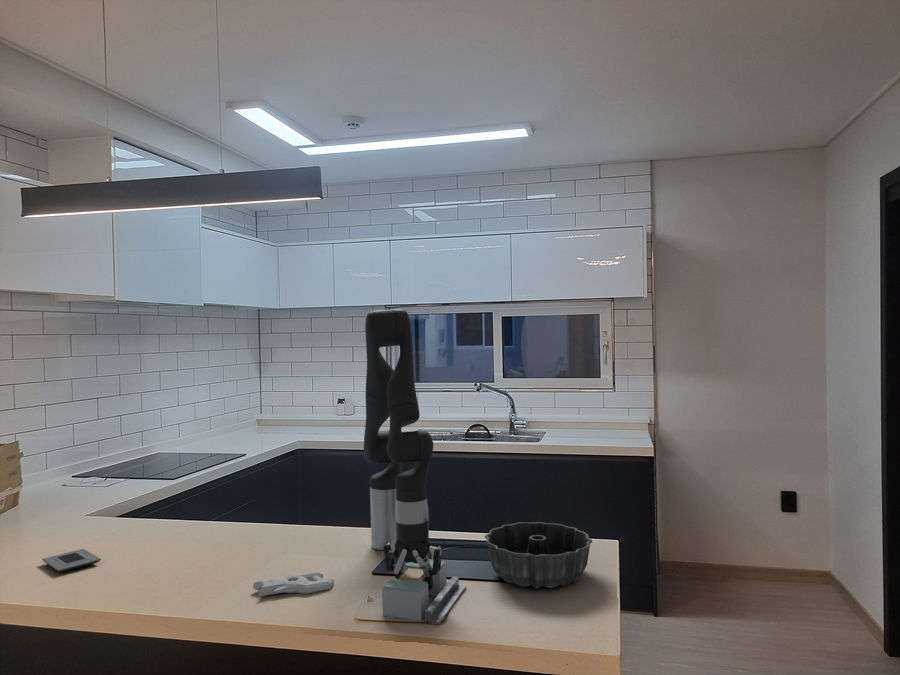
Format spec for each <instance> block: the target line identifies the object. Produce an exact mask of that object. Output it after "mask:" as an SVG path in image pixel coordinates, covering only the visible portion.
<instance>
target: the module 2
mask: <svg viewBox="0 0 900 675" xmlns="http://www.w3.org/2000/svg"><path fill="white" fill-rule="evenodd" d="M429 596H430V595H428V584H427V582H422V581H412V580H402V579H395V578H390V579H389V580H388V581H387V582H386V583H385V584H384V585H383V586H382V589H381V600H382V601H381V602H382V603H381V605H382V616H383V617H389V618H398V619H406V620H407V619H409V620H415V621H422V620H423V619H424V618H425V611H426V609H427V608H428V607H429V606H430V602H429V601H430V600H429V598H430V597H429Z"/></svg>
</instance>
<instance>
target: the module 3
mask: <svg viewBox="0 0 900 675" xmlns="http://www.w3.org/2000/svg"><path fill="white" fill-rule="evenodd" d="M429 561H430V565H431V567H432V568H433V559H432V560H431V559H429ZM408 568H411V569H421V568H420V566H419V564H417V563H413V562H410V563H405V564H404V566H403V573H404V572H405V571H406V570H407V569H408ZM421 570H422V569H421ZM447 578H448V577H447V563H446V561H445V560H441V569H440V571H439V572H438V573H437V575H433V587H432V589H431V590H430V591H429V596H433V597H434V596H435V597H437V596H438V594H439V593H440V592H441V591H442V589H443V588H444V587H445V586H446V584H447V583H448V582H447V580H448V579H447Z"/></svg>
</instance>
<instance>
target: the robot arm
mask: <svg viewBox="0 0 900 675" xmlns="http://www.w3.org/2000/svg"><path fill="white" fill-rule="evenodd" d="M364 323H365V326H364V327H365V329H364V330H365V345H366V346H365V348H366V373H365V374H366V375H365V426H364V436H363V455H364V459H365V460H366V462H367V463H369V464H385V463H386V464H387V463H388V464H389V465H388V466H387V467H386V468H385V469H382V470H381V471H379V472H377V473H375V474H372V476H370V478H369V498H370V499H369V501H370V505H369V506H370V532H371V534H370V536H371V537H370V538H371V540H370V541H371V547H372V548H373V549H374V550H378V551H383V554H384V561H385V567H386V570H387V571H390V572H393V574H394V579H399V578H400V576H401V575H402V574H403V573H404V567H405V564H407V563H410V562H413V563H417V564H419V566H420V568H421V569H422V570H423V572H424V575H425V577H424V582H427V584H428V592H429V591H430V590H431V589H432V587H433V575H437V573H438V572H439V571H440V569H441V561H442V560H443V559H442V557H443V546H441V545H438V546H432V545H431V543H430V534H429V532H430V531H429V530H430V528H429V527H430V526H429V505H428V496H427V495H428V494H427V493H428V492H427V491H428V490H427V478H428V473H429V467H430V465H431V464H430V463H431V460H432V455H433V452H434V441H433V437H432V436H431V434H430V433H429V432H428V431H426V430H413V431H410V430H409V431H402V429H403V428H404V427H406V426H410V425H412V424H414V423H416V422H418V421H419V419H420V416H421V415H420V408H419V402H418V397H417V392H416V385H415V384H416V383H415V374H414V373H415V371H414V370H415V369H414V368H415V366H414V364H415V363H414V350H413V349H414V348H413V335H412V334H413V333H412V324H411V320H410V315H409V313H408V312H407V310H406V309H403V308H393V309H391V308H390V309H377V310H372V311H369V312H368V313H367V314H366V317H365V322H364ZM397 346H399V350H400V351H399V357H398V360H397V363H396V365H395V368H394V369H393V367H392V366H391V365H390V364H389V363H388V362H387V360H386V359H385V357H384V356H383V355H382V352H381V351H380V348H383V347H385V348H386V347H387V348H388V347H397ZM388 419H389V429H388V430H387V429H386V430H385V429H383V430H380V428H381V427H382V426H383V424H384V423H385V422H386V421H387V420H388ZM409 463H414V466H412V468H410V469H408V470H407V471H406V470H405V471H402V470H403V469H402V465H403V464H409ZM395 550H396V552H397V553H398V555H399V557H398V559H397V561H395V553H394V552H395ZM429 552H430V553H431V556H432V558H433V559H432V560H433V568H432V567H431V565H430V561H429V560H430V559H429V557H428V554H429Z"/></svg>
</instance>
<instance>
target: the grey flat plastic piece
mask: <svg viewBox="0 0 900 675" xmlns="http://www.w3.org/2000/svg"><path fill="white" fill-rule="evenodd" d="M334 585H335V579H334V578H327V579H324V574H323V573H319V572H316V571H311V572H310V571H309V572H305V573H304V572H303V573H297V574H294V575H292V574H291V575H288V576H283V577H278V578H272V579H266V580H259V581H256V582H254V583H253V585H252V589H254V590H255V591H257V592H258V596H260V597H265V596H271V595H272V596H273V595H276V594H283V593H286V594H302V595H308V594H312V593H314V594H315V593H317V592H323V591H327V590H330V589H331V588H332V587H333V586H334Z"/></svg>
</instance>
